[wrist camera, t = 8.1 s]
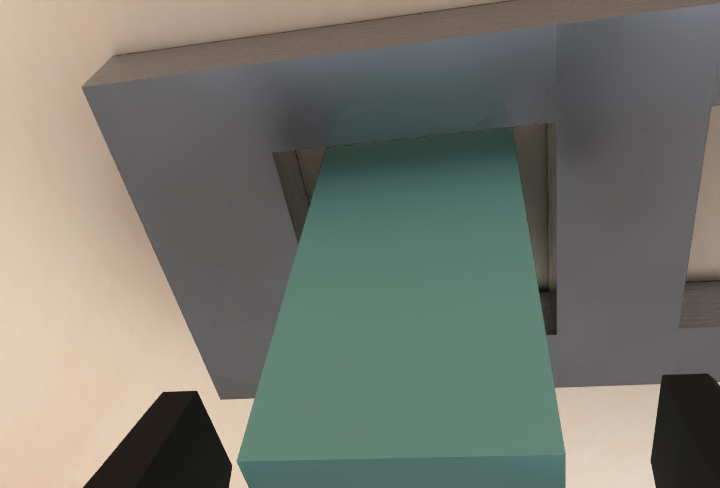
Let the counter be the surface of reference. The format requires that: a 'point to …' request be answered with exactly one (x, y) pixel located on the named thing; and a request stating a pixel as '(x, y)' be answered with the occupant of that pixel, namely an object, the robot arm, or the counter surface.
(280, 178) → the steel rail
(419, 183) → the teal peg
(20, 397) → the counter surface
